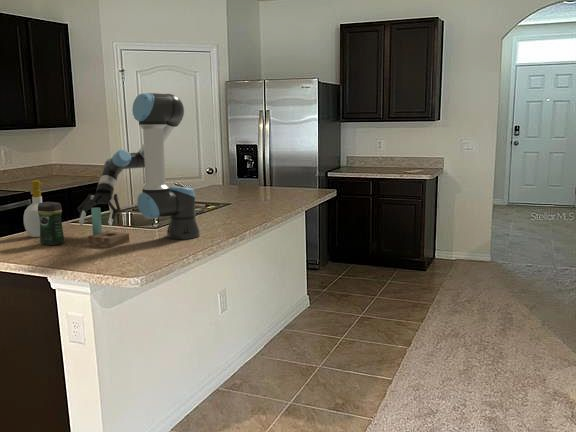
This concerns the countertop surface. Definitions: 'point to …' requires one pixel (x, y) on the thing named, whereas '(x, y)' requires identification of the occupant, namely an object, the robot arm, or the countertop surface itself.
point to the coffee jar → (50, 223)
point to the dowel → (96, 220)
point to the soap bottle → (33, 212)
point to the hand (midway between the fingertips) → (95, 224)
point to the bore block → (108, 239)
